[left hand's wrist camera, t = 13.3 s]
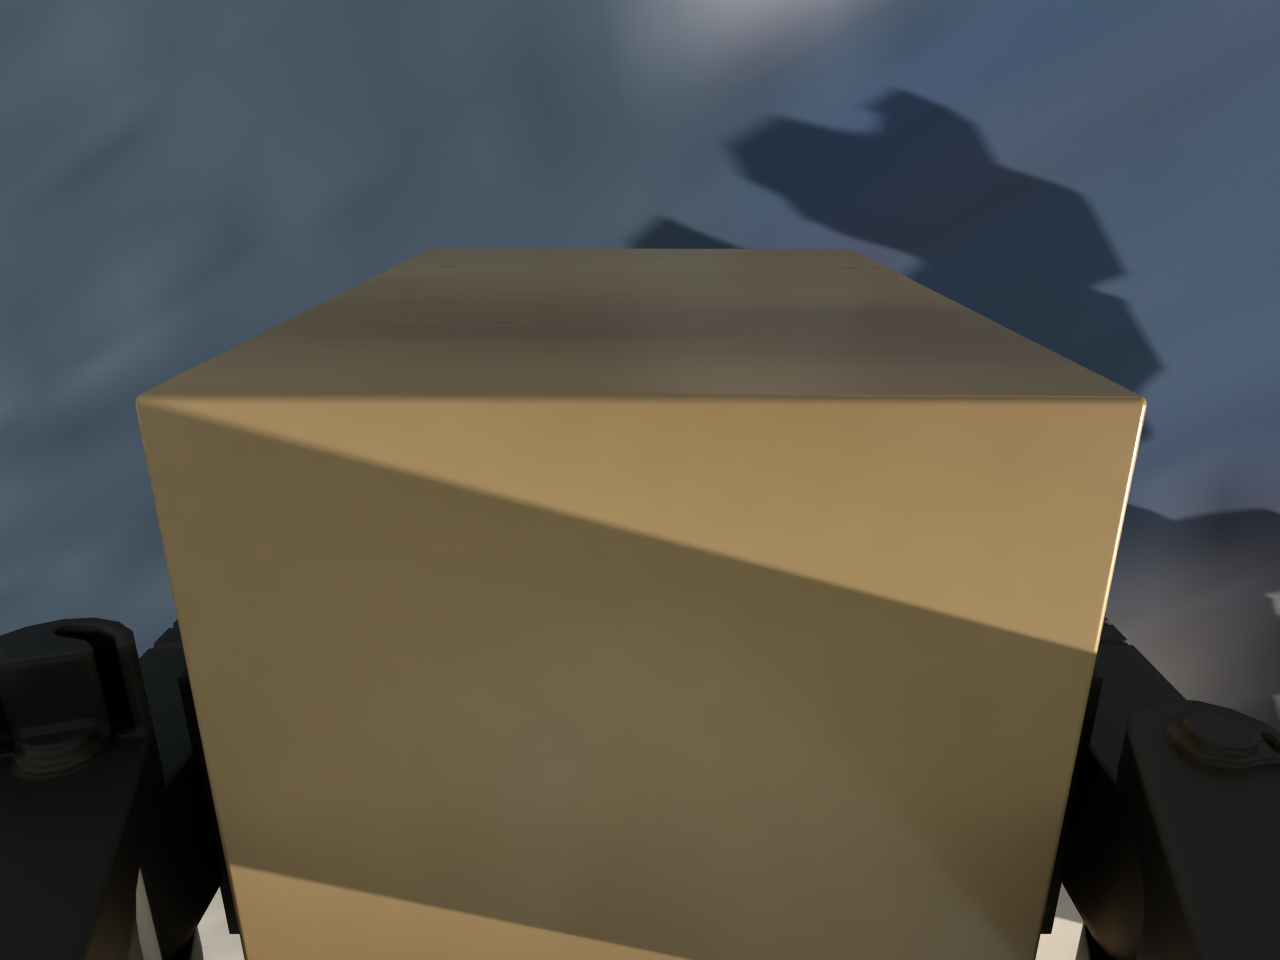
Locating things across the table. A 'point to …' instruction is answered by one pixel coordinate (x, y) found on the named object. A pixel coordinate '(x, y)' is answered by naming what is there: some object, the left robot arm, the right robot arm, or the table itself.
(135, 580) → the table surface
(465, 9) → the table surface
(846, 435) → the ash beam
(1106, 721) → the left robot arm
